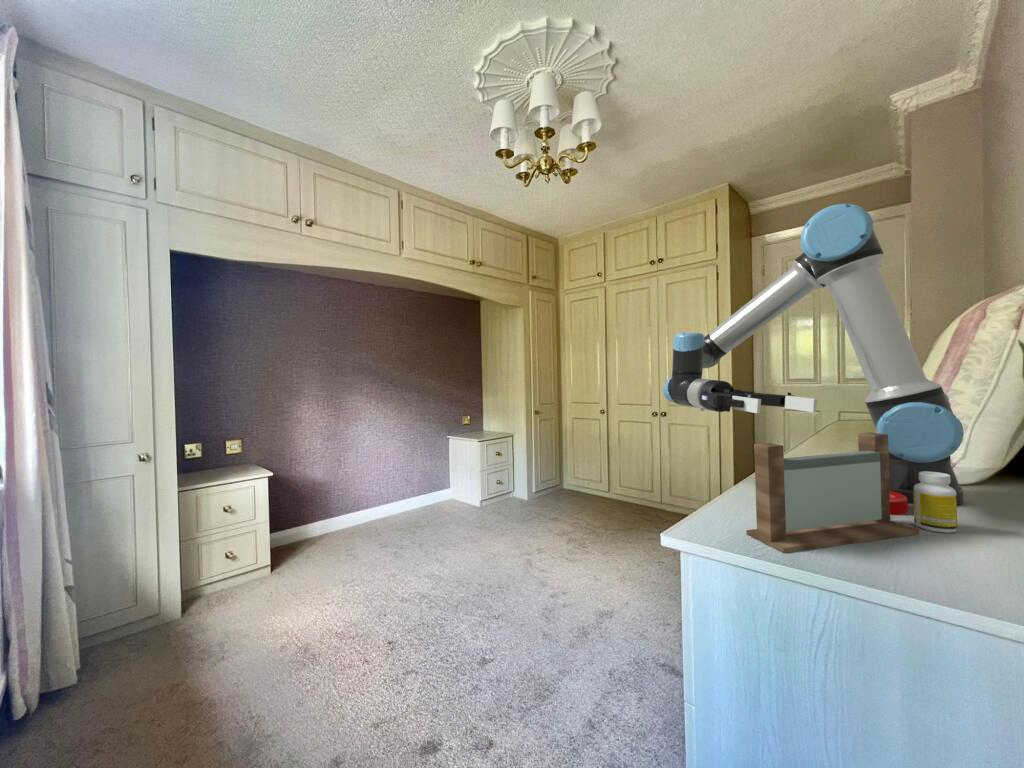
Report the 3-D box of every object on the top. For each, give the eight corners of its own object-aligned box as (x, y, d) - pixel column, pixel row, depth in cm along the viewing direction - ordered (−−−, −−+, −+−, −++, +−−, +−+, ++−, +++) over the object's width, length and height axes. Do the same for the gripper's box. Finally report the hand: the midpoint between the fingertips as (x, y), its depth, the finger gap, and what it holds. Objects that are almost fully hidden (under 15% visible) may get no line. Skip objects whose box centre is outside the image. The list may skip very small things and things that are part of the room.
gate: (870, 515, 76) (868, 450, 76) (881, 519, 74) (879, 452, 74) (776, 527, 72) (773, 459, 72) (785, 531, 70) (783, 461, 70)
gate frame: (870, 518, 80) (868, 432, 79) (918, 534, 72) (916, 437, 71) (746, 534, 74) (743, 441, 74) (783, 552, 67) (780, 449, 66)
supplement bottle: (966, 534, 71) (965, 477, 71) (929, 533, 72) (928, 477, 72) (940, 523, 76) (939, 470, 76) (906, 522, 77) (905, 470, 77)
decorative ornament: (834, 504, 90) (834, 489, 90) (869, 499, 92) (869, 485, 92) (883, 518, 80) (882, 502, 80) (920, 512, 82) (920, 497, 82)
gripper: (752, 409, 105) (835, 423, 84) (666, 410, 99) (733, 426, 78) (754, 380, 104) (838, 387, 84) (667, 379, 98) (735, 386, 78)
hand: (787, 406), depth 81 cm, fingers open, 13 cm apart
